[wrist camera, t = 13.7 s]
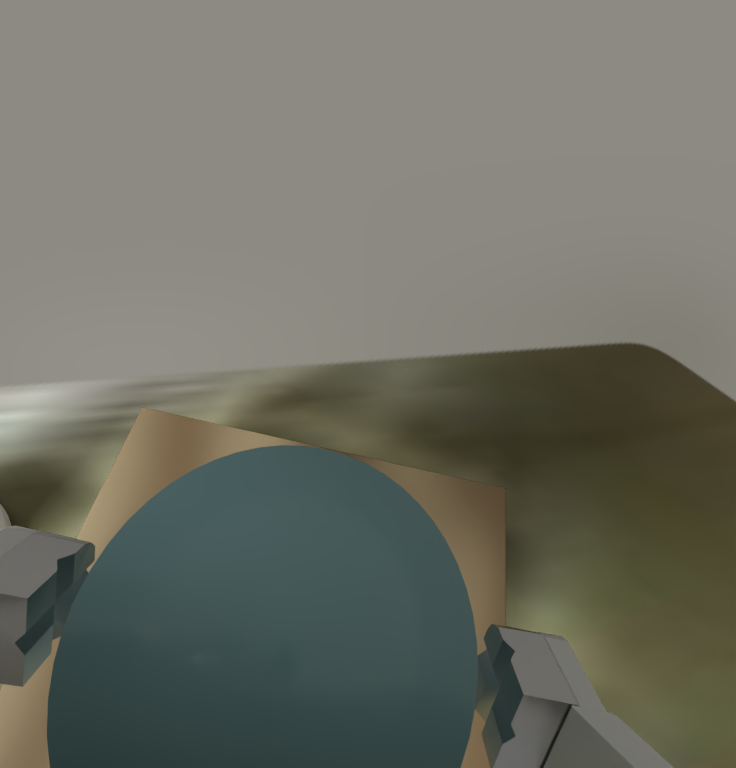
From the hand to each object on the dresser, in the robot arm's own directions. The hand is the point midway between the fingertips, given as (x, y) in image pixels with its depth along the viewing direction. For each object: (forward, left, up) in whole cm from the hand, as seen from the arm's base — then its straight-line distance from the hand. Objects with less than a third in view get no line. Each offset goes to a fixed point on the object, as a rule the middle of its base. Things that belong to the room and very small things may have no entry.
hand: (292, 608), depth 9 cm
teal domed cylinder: (0, -1, -7) cm, 7 cm away
